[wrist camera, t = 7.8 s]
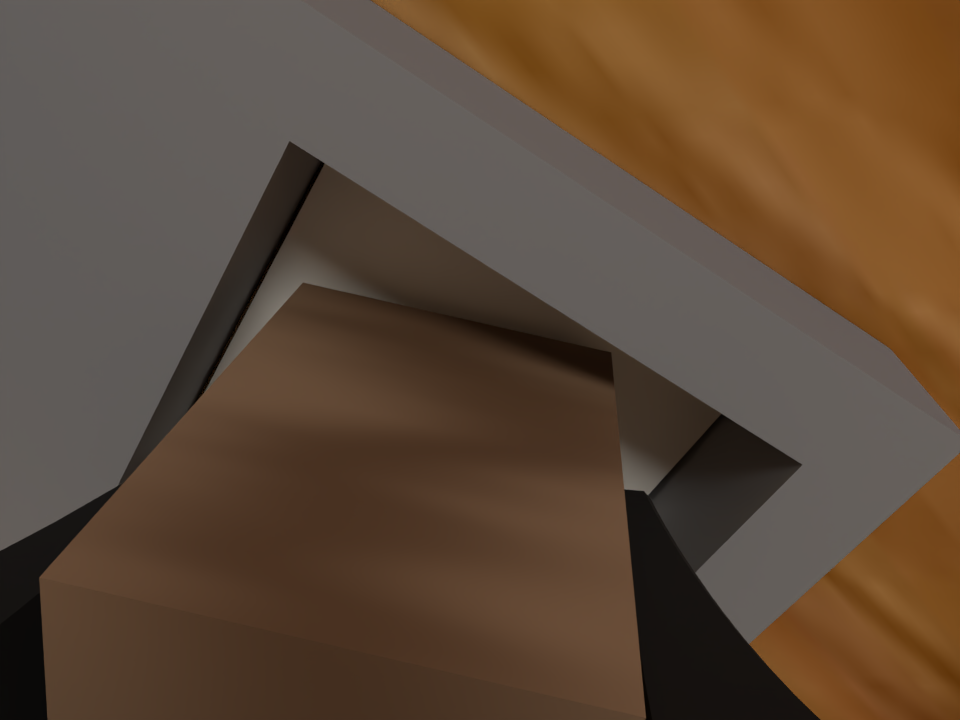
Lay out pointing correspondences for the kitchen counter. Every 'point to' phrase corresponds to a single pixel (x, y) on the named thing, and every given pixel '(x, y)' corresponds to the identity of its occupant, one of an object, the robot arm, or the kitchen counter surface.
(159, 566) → the walnut peg
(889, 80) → the kitchen counter surface
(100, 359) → the socket block
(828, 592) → the kitchen counter surface
